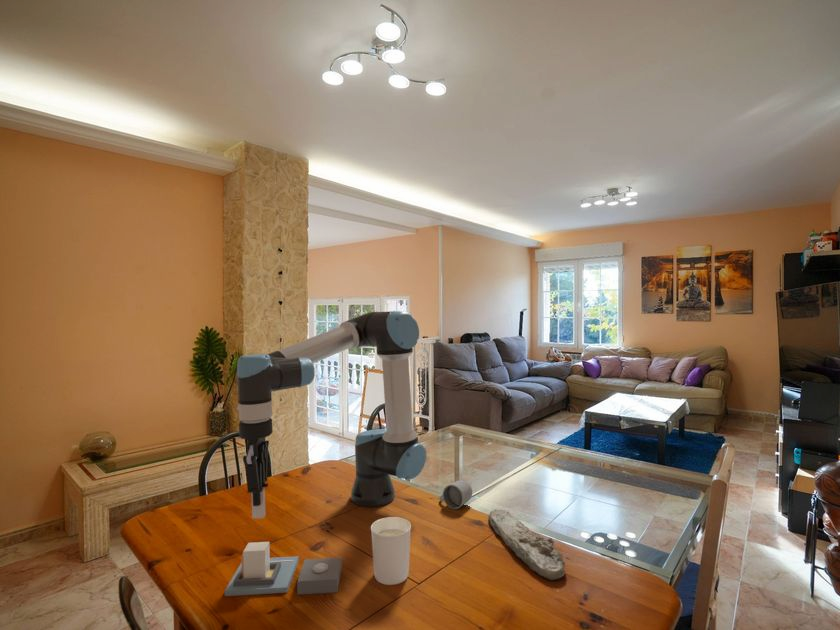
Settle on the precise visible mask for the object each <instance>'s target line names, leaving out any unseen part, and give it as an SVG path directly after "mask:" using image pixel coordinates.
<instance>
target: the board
mask: <svg viewBox="0 0 840 630" xmlns="http://www.w3.org/2000/svg"><path fill="white" fill-rule="evenodd" d="M299 561H300V556H299V555H296V556H279V557H278V556H277V557H276V556H275V557H270V571H269V573H268V575H267V578H250V579H244V576H242V561H241V562H240V564H239V565H238V568H237V569H236V571H235V573H234V574H233V576H232V578H231V579H230V581H229V583H228V584H227V586H226V588H225V590H224V597H233V596H234V597H235V596H249V595H250V596H251V595H265V594H266V595H267V594H283V593H284V594H285V593H288V592H289V589H290V586H291V584H292V581H293V578H294V575H295V572H296V570H297V566H298V565H299Z"/></svg>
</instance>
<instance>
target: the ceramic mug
mask: <svg viewBox="0 0 840 630" xmlns="http://www.w3.org/2000/svg"><path fill="white" fill-rule="evenodd" d="M472 497H473V488H472V486H471V485H470V483H469V482H468V481H466V480H462V479H461V480H457V481H454V482H452V483H450V484H448V485H446V486H445V487H444V489H443V491H442V495H440V496H439V500H440V503H442V502H444V503H445V505H446V506H447V507H448V508H449V509H453V510H457V509H460V508H462V506H464V505H465V504H466V503H468V502H469V501H470V500H471V499H472Z"/></svg>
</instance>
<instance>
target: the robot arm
mask: <svg viewBox="0 0 840 630" xmlns="http://www.w3.org/2000/svg"><path fill="white" fill-rule="evenodd" d="M419 339H420V328H419V325H418V321H417V320H416V319H415V317H413V316H412V314H411V313H410V312H407V311H399V310H392V311H372V312H366V313H363V314H360V315H357V316H355V317H353V318H350V319H348V320H346V321H343V322H341V323H340V324H339V326H338V327H336V328H333V329H330V330H328V331H325V332H322V333H319V334H318V335H315V336H312V337H309V338H307V339H304V340H301V341H299V342H296V343H294V344H291V345H287V346H286V347H283V348H280V349H278V350H275V351H273V352H269V353H260V354H259V353H255V354H245V355H241V356H239V357H238V359H237V365H236V379H237V382H236V383H237V399H238V400H237V401H238V405H237V406H236V410H237V411H238V419H239V422H238V435H239V438H241V439H242V440H246V443H247V444H246V446H245V453H246V455H243V457H242V461H243V464H244V470H245V471H244V472H245V477H246V487H247V491H246V493H249V494H250V493H251V494H250V495H251V519H264V518H265V516H266V493H265V491H266V489H265V488H268V487H269V483H266V482H267V481H268V461H269V460H268V459H269V457H268V456H269V444H270V441H269V440H268V439H267V440H266V438H267V437H269V436H271V435H272V434H273V429H274V428H273V419H272V418H271V417H272V416H273V403H272V395H273V394H272V392H277V391H283V390H289V389H295V388H302V387H305V386H308V385H310V384H312V383H313V381H314V379H315V375H316V374H315V366H314V364H315V363H318V362H320V361H323V360H325V359H327V358H330V357H332V356H334V355H336V354H338V353H342V352H343V351H346V350H350V351H351V350H352V351H353V350H356V349H358V348H362V347H376V355H377V356H378V357H379V358H380V359H381V364H382V380H383V395H384V397H383V398H384V408H385V409H384V411H385V425H386V427H385V428H386V429H385V428H376V429H370V430H364V431H361V432H358V434H356V437H355V444H354V452H355V453H354V454H355V455H354V456H355V479H354V482H353V483H352V488H351V491H350V500H351V502H352V503H353V504H355V505H357V506H361V507H370V508H371V507H379V506H383V505H388V504H389V503H391V502H392V501H394V499H395V498H396V497H395V495H396V494H395V492H396V490H395V486H394V484H393V481H392V478H391V476H392V477H396V478H398V479H404V480H408V481H411V480H414V479H416V478H417V477H418V476H419V475H420V474H421V472H422V471H423V469H424V467H425V465H426V462H427V449H426V447H425V446H424V445H423V444H422V443H420V442H419V434H418V433H417V431H415V430H414V429H413V425H414V423H413V412H412V411H413V409H412V395H411V392H412V391H411V377H410V365H409V364H410V363H409V362H410V361H409V359H410V356H411V355H412V354H413V350H414V349H413V348H414V347H415V346H416V345H417V343H418V340H419Z"/></svg>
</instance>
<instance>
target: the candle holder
mask: <svg viewBox="0 0 840 630" xmlns="http://www.w3.org/2000/svg"><path fill="white" fill-rule="evenodd" d="M411 530H412V525H411V522H410V521H409V520H407V519H405V518H402V517H398V516H388V517H383V518H378V519H377V520H375V521H374V522H372V524H371V525H370V532H371V535H370V536H371V549H372V560H373V561H372V562H373V574H374V578H375V580H376V581H377V582H378V583H380V584H382V585H385V586H394V585H395V586H396V585H399V584H401V583H403V582H405V581H406V580H407V578H408V577H409V573H410V572H409V571H410V570H409V569H410V553H411V552H410V550H411V549H410V548H411V532H412V531H411Z"/></svg>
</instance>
